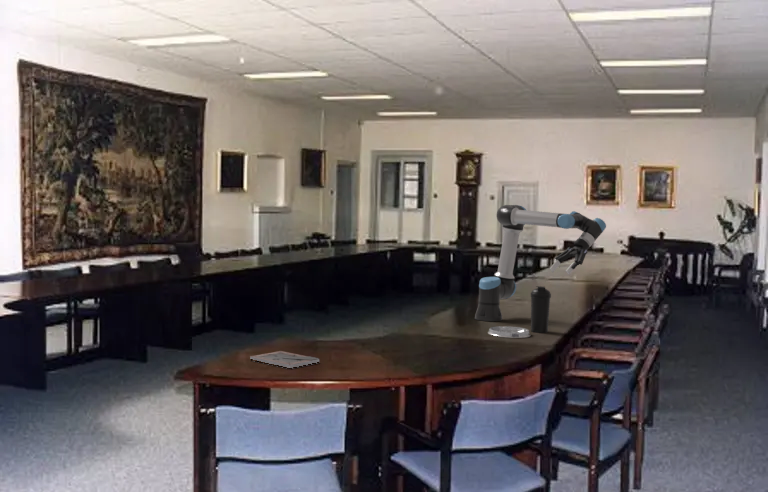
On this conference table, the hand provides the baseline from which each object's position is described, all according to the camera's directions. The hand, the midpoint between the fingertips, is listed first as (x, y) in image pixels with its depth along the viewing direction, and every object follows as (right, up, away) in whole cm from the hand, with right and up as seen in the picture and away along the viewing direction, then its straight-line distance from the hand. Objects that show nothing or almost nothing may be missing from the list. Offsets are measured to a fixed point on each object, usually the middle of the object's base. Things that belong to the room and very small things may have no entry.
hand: (559, 271), depth 408 cm
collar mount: (-28, -31, -14) cm, 44 cm away
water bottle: (-11, -31, -3) cm, 33 cm away
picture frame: (-129, -33, -98) cm, 165 cm away
